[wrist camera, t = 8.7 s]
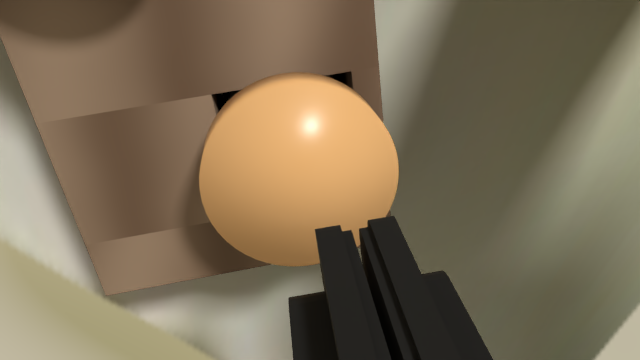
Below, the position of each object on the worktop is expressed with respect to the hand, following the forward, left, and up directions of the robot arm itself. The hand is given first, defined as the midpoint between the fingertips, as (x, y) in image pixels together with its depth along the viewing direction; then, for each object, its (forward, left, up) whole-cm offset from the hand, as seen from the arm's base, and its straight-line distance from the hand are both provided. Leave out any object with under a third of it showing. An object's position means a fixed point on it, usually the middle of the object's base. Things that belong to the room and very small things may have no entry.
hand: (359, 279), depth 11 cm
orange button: (+1, 0, -13) cm, 13 cm away
